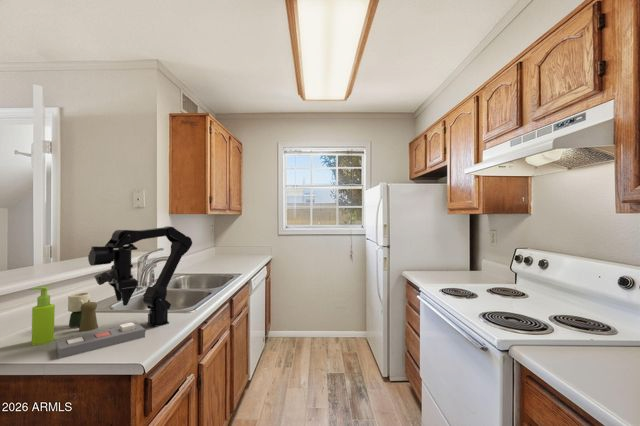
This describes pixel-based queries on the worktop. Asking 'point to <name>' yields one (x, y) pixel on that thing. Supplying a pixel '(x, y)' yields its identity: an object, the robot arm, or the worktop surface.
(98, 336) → the red button
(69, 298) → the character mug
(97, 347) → the button panel
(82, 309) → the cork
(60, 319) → the worktop surface
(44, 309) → the soap dispenser
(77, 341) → the button
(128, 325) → the button
